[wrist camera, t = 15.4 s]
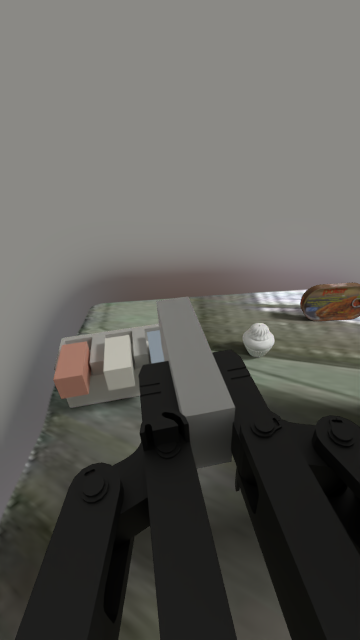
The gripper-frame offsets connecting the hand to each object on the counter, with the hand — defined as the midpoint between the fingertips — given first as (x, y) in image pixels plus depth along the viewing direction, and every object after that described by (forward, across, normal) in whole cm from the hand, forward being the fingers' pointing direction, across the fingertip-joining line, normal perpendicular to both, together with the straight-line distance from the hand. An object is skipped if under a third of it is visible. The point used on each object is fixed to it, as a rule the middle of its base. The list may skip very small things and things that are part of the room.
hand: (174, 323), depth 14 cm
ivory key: (+25, -6, -25) cm, 36 cm away
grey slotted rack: (+29, -6, -32) cm, 44 cm away
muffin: (+31, +20, -32) cm, 49 cm away
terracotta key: (+25, -13, -25) cm, 38 cm away
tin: (+39, +42, -32) cm, 66 cm away
